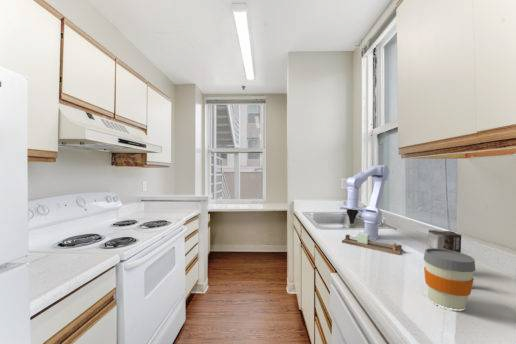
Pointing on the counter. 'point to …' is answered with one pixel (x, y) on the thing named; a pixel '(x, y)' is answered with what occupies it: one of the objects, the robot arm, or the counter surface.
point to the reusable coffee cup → (448, 277)
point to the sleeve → (363, 238)
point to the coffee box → (444, 240)
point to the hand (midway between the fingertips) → (351, 223)
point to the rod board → (375, 245)
